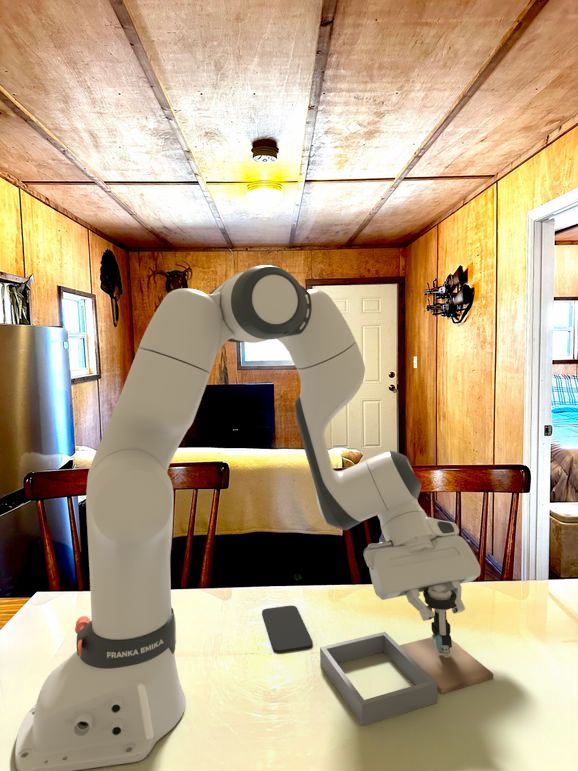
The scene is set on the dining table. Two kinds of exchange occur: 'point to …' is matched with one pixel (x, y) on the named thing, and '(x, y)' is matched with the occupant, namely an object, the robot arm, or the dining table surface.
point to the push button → (440, 615)
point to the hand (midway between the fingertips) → (444, 615)
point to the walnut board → (447, 665)
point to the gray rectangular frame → (386, 703)
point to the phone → (286, 629)
